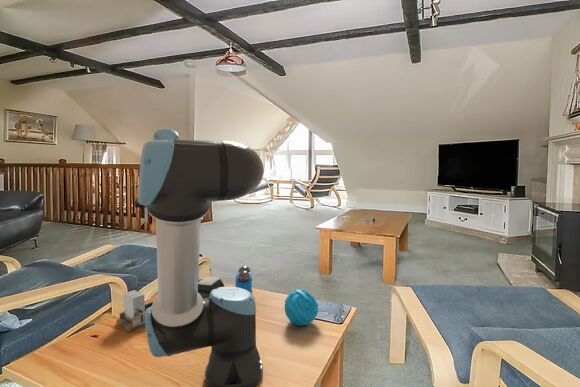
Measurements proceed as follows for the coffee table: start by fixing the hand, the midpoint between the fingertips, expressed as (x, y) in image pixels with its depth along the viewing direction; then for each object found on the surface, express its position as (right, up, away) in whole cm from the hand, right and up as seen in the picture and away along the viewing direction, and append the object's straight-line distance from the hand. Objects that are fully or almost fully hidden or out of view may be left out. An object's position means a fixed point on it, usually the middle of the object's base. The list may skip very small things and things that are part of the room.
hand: (166, 218), depth 123 cm
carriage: (-8, -35, -7) cm, 37 cm away
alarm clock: (+28, -36, +8) cm, 46 cm away
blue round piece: (+50, -37, -6) cm, 62 cm away
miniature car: (+12, -35, +14) cm, 40 cm away
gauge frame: (-5, -36, -2) cm, 37 cm away
